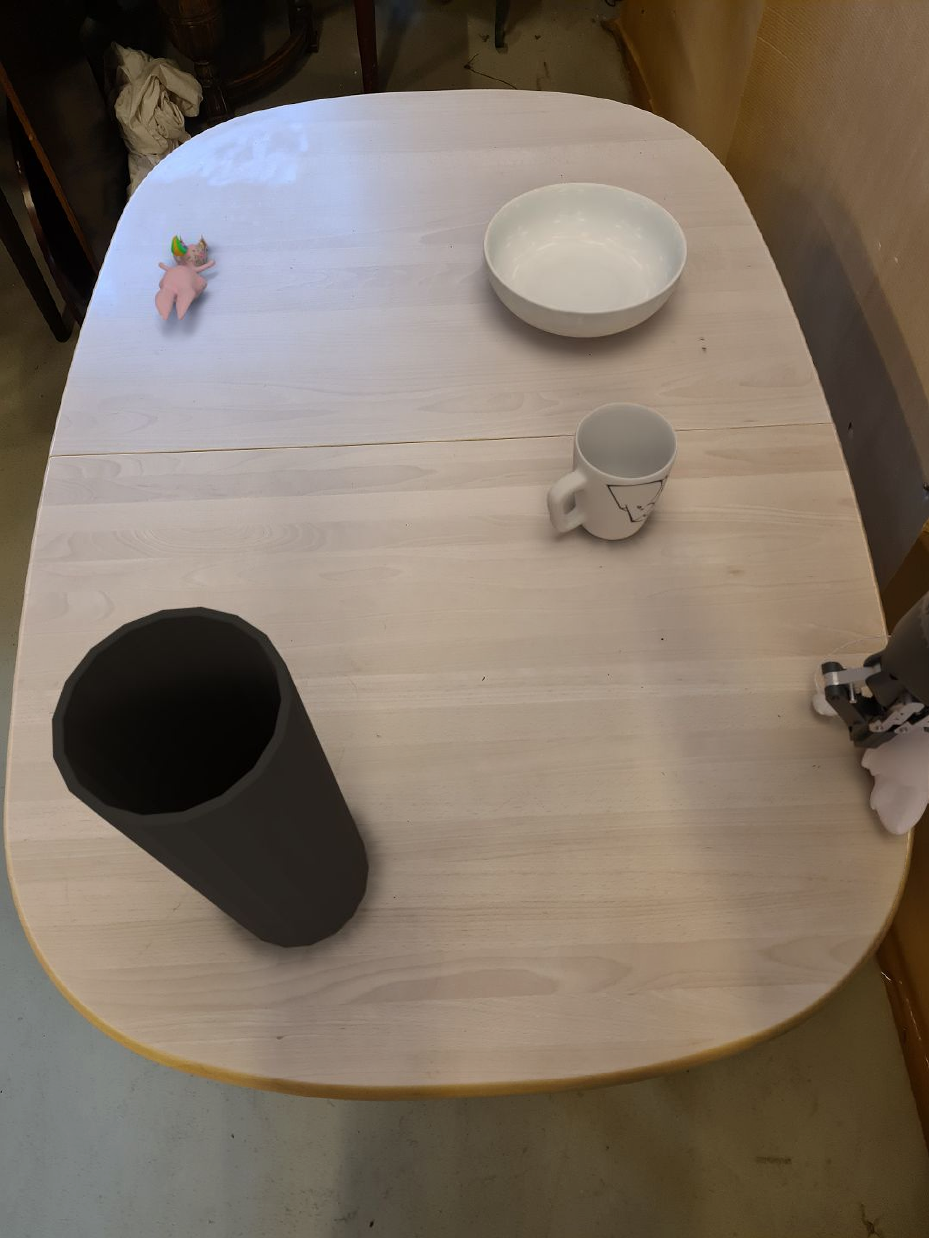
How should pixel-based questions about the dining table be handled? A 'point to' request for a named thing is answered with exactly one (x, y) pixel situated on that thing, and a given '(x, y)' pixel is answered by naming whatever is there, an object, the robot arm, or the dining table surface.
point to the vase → (214, 770)
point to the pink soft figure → (182, 278)
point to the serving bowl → (583, 258)
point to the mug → (615, 471)
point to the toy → (893, 771)
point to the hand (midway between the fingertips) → (862, 735)
